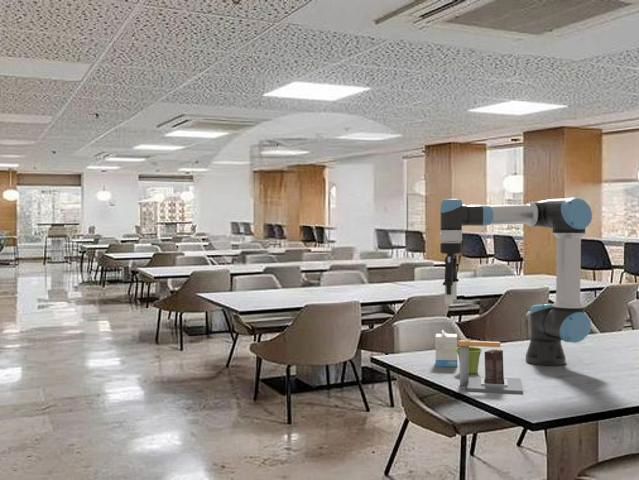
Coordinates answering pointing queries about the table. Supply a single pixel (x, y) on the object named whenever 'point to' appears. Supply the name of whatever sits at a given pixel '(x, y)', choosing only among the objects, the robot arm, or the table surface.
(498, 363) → the box
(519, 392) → the grey stand
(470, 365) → the plant pot
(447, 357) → the milk carton
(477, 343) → the clip
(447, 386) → the table surface
